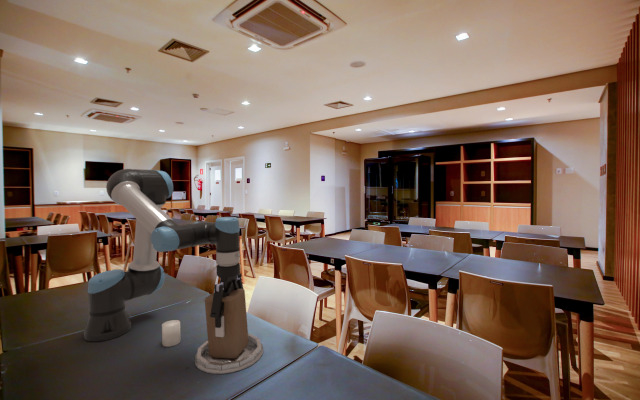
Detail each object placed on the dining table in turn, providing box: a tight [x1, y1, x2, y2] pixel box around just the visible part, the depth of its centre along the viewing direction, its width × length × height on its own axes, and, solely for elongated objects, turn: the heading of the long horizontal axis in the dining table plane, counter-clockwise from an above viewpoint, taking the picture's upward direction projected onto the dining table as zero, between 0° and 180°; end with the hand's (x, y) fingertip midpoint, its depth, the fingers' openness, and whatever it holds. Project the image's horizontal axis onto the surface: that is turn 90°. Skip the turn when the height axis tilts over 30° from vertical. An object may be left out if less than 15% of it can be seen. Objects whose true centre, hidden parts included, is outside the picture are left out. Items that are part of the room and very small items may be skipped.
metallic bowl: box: [194, 333, 264, 375], centre depth 102 cm, size 22×22×2 cm
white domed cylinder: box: [161, 319, 182, 348], centre depth 110 cm, size 6×6×7 cm
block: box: [204, 288, 249, 358], centre depth 102 cm, size 10×10×20 cm
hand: (229, 327), depth 102 cm, fingers open, 11 cm apart
